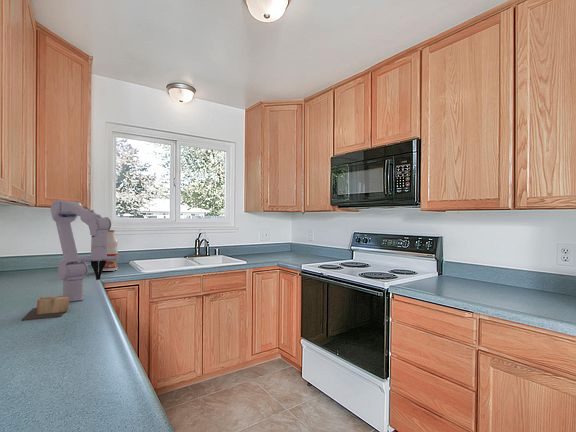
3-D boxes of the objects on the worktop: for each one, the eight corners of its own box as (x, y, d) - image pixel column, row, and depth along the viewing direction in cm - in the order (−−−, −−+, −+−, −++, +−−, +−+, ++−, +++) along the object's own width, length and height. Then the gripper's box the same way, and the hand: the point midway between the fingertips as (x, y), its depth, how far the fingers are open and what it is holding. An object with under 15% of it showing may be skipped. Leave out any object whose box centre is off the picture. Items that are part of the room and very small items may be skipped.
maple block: (68, 308, 122) (39, 310, 118) (69, 295, 122) (40, 297, 118) (66, 311, 118) (36, 314, 114) (67, 298, 118) (37, 300, 114)
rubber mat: (32, 308, 121) (32, 308, 121) (67, 305, 126) (67, 305, 126) (21, 320, 107) (21, 319, 107) (60, 316, 112) (60, 315, 112)
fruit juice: (120, 270, 215) (121, 230, 216) (108, 272, 206) (109, 230, 207) (110, 269, 219) (111, 229, 219) (97, 271, 210) (99, 229, 210)
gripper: (77, 247, 122) (75, 282, 122) (119, 246, 129) (118, 279, 129) (79, 246, 129) (77, 279, 128) (119, 245, 135) (118, 277, 135)
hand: (98, 279), depth 129 cm, fingers closed
